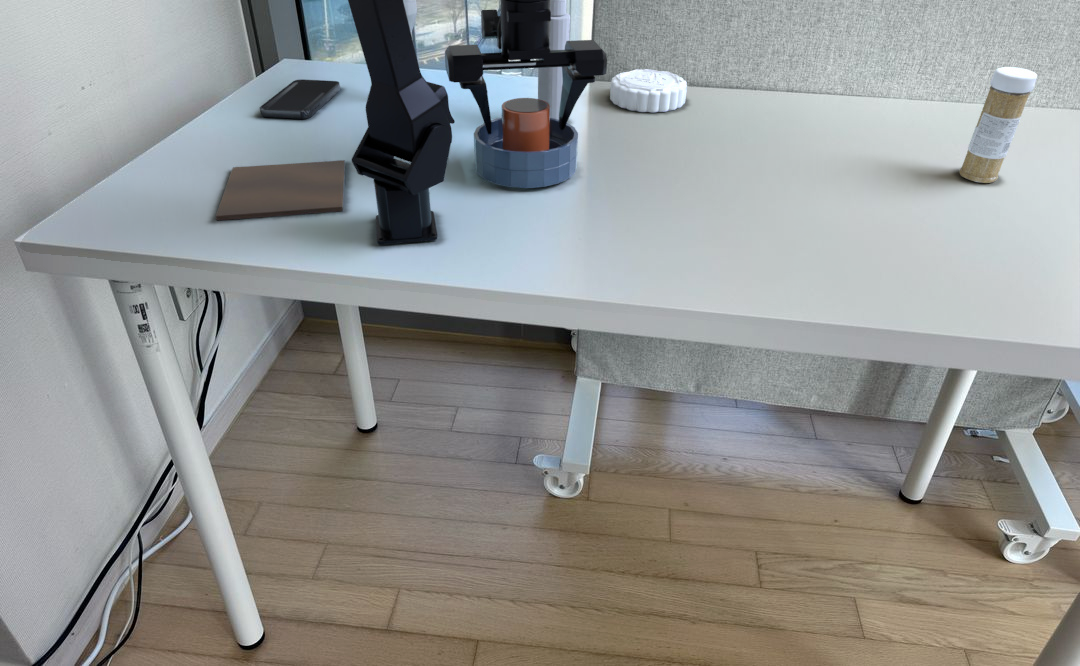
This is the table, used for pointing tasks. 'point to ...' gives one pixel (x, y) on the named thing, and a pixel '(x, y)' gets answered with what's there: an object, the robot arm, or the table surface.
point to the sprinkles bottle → (997, 123)
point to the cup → (526, 125)
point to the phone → (300, 99)
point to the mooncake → (648, 91)
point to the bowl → (525, 158)
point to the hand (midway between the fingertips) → (525, 130)
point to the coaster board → (283, 190)
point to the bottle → (559, 34)
